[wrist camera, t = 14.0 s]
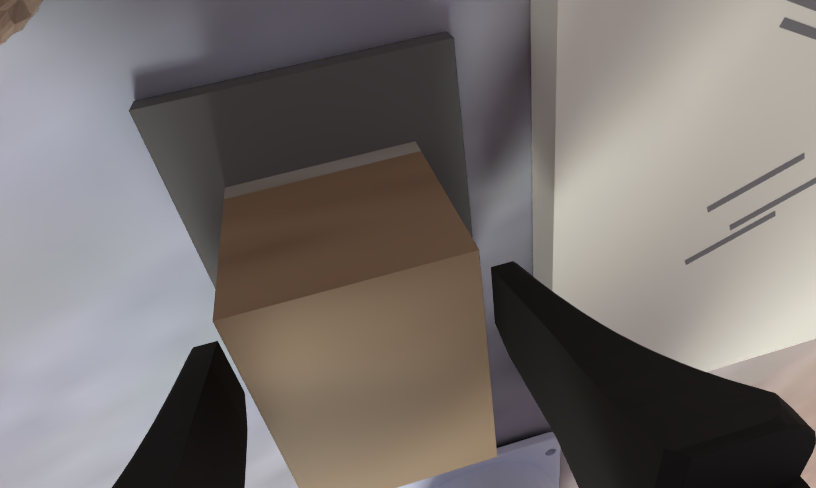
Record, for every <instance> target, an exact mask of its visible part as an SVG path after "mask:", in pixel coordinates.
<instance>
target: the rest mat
mask: <svg viewBox="0 0 816 488" xmlns="http://www.w3.org/2000/svg"><path fill="white" fill-rule="evenodd" d="M129 112H130V114H131V116H132V118H133V120H134V122H135V124H136V126H137V128H138V130H139V132H140V135H141V137H142V139H143V141H144V143H145V145H146V147H147V149H148V151H149V153H150V155H151V157H152V159H153V161H154V163H155V165H156V167H157V170H158V172H159V174H160V176H161V178H162V180H163V182H164V184H165V186H166V188H167V190H168V192H169V194H170V196H171V198H172V200H173V203H174V205H175V207H176V209H177V211H178V213H179V215H180V217H181V219H182V221H183V223H184V225H185V227H186V229H187V231H188V233H189V235H190V238H191V240H192V242H193V244H194V246H195V248H196V250H197V252H198V254H199V256H200V258H201V260H202V262H203V264H204V266H205V268H206V270H207V273H208V275H209V277H210V279H211V281H212V283H213V285H214V287H215V289H216V280H217V269H218V258H219V247H220V236H221V225H222V214H223V203H224V192H225V188H226V187H230V186H234V185H238V184H242V183H246V182H250V181H254V180H259V179H263V178H267V177H271V176H275V175H279V174H283V173H287V172H291V171H295V170H299V169H304V168H308V167H312V166H316V165H320V164H324V163H328V162H332V161H336V160H340V159H344V158H349V157H353V156H357V155H361V154H365V153H369V152H373V151H377V150H381V149H385V148H389V147H394V146H398V145H402V144H406V143H410V142H414V141H416V143H417V145H418V147H419V148H420V150H421V152H422V153H423V155H424V157H425V158H426V160H427V162H428V164H429V165H430V167H431V169H432V170H433V172H434V174H435V176H436V177H437V179H438V181H439V182H440V184H441V186H442V188H443V189H444V191H445V193H446V194H447V196H448V198H449V200H450V201H451V203H452V205H453V206H454V208H455V210H456V212H457V213H458V215H459V217H460V218H461V220H462V222H463V223H464V225H465V227H466V229H467V230H468V232H469V234H470V235H471V237H472V228H471V217H470V207H469V196H468V185H467V175H466V164H465V153H464V143H463V132H462V121H461V111H460V100H459V89H458V79H457V68H456V57H455V47H454V38H453V37H452V36H451V35H450V34H449V33H448V32H442V33H438V34H434V35H429V36H425V37H420V38H416V39H411V40H407V41H402V42H398V43H393V44H389V45H384V46H380V47H375V48H371V49H366V50H362V51H357V52H353V53H348V54H344V55H339V56H335V57H330V58H326V59H322V60H317V61H313V62H308V63H304V64H299V65H295V66H290V67H286V68H281V69H277V70H272V71H268V72H263V73H259V74H254V75H250V76H245V77H241V78H236V79H232V80H227V81H223V82H218V83H214V84H209V85H205V86H201V87H196V88H192V89H187V90H183V91H178V92H174V93H169V94H165V95H160V96H156V97H151V98H147V99H142V100H138V101H134V102H133V104H132V106H131V108H130V110H129Z"/></svg>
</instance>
